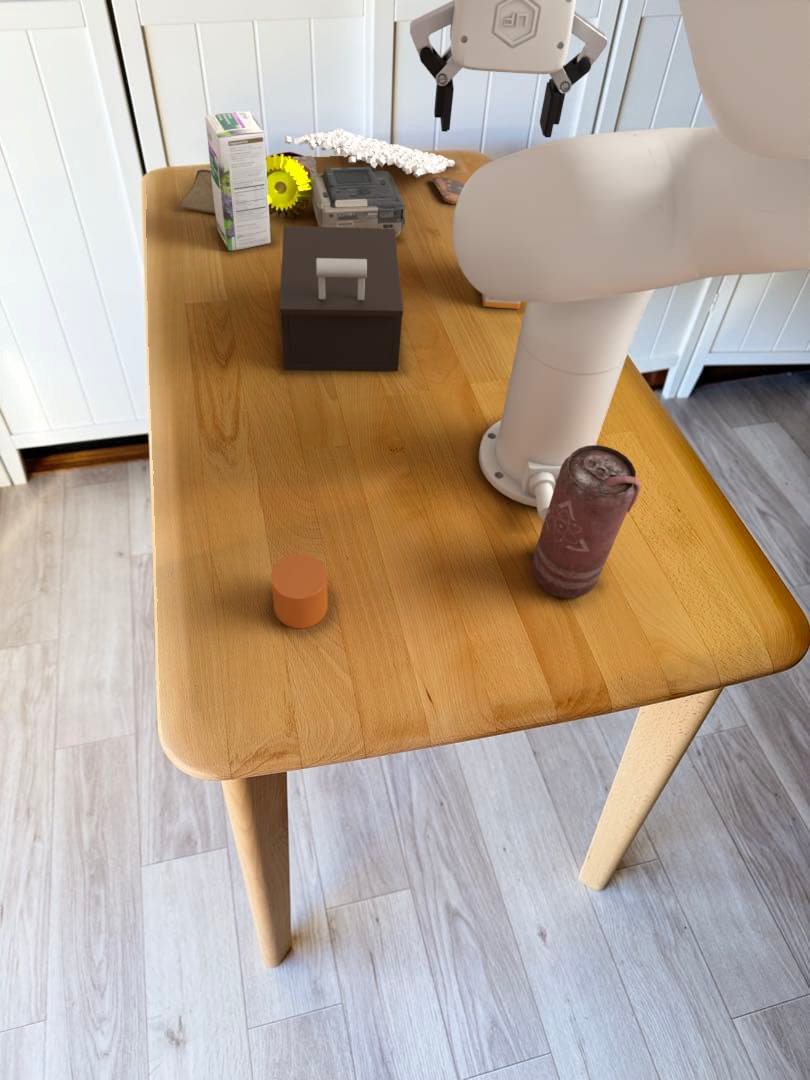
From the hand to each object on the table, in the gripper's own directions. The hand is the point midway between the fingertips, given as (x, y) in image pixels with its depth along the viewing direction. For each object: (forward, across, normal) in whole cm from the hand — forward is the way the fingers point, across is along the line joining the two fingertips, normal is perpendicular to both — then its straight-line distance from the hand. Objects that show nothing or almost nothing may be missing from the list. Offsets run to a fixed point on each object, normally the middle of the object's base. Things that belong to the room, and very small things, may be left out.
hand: (494, 127), depth 77 cm
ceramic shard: (+22, -32, +27) cm, 47 cm away
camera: (+21, -12, +18) cm, 30 cm away
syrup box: (+24, -28, +18) cm, 41 cm away
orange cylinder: (+24, -17, -39) cm, 49 cm away
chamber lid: (+16, -15, -1) cm, 22 cm away
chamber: (+24, -15, 0) cm, 28 cm away
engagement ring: (+21, -23, +35) cm, 47 cm away
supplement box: (+24, +5, +9) cm, 26 cm away
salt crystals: (+21, -11, +34) cm, 42 cm away
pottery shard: (+23, +3, +33) cm, 41 cm away
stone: (+24, -24, +29) cm, 44 cm away
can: (+24, +7, -35) cm, 43 cm away
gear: (+17, -20, +25) cm, 36 cm away
